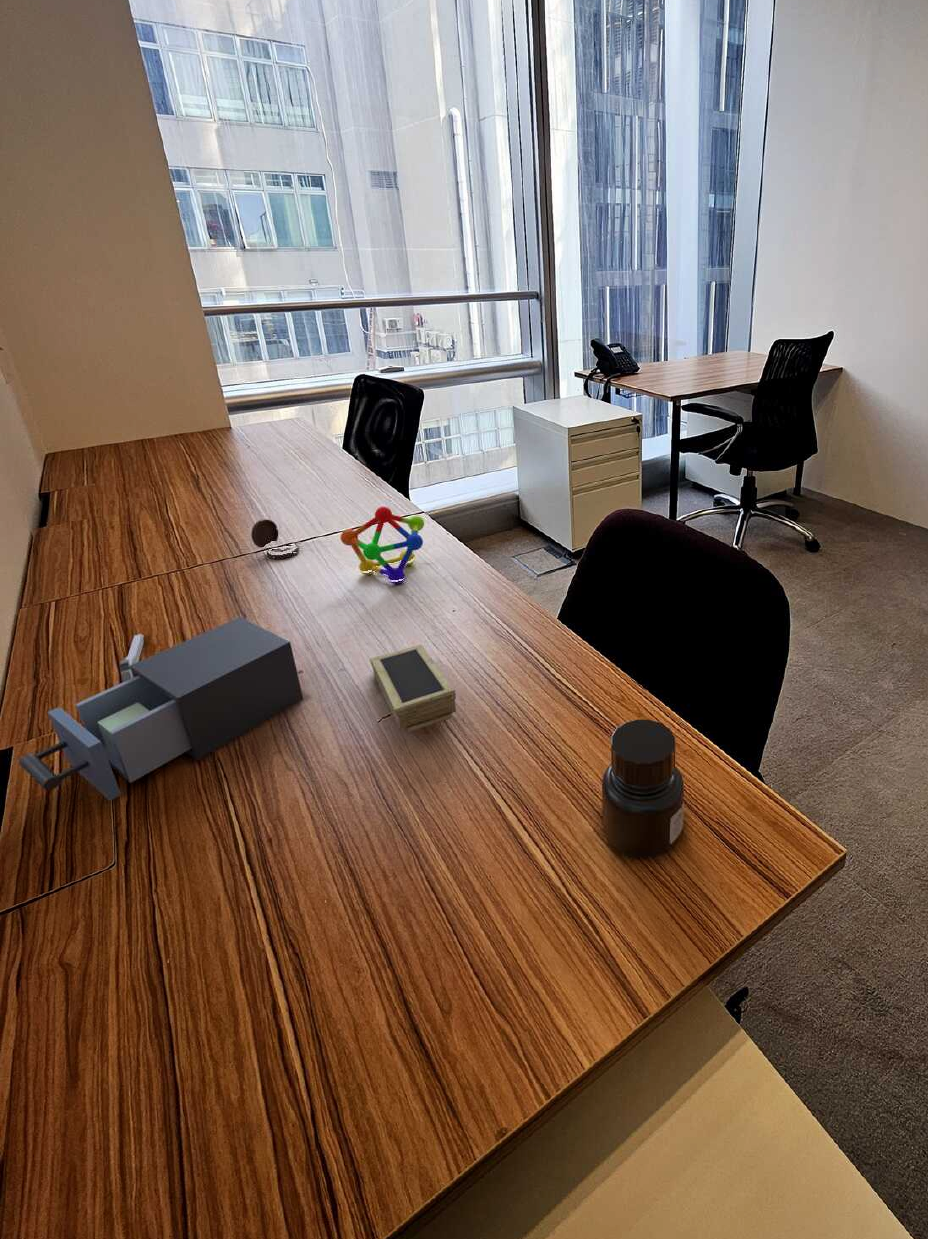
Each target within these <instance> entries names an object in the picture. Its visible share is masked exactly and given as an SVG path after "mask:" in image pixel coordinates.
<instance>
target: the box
mask: <svg viewBox="0 0 928 1239" xmlns="http://www.w3.org/2000/svg"><path fill="white" fill-rule="evenodd" d="M369 661H370V665H371V667H372V672H373V675H374V679H375V681H376V683H377V685H378V687H379V689H380V691H381V693H382V696H383V697H384V700H385V702H386V703H387V706H388V708H389V710H390V712H391V714H392V716H393V719H394V720H395V723H396V725H397V726H398V728H399V730H405V731H406V734H411V733H414V732H417V731H419V730H422V729H425V728H428V727H431V726H434V725H436V724H440V723H442V722H446V721H448V720H451V719H453V715H452V714H453V713H455V712H457V709H456V708H457V706H456V699H457V694H456V689H454V687H453V685H452V684H451V683H450V682H449V680H448V679H447V677H446V676H445V675H444V674H443V672H442V671H441V669H440V668H439V667H438V666H437V664H436V662H435V661H434V660H433V658H432V657H431V655H430V654H429V653H428V652H427V650H426V649H425V647H424V646H423V644H419V645H414V646H410V647H407V648H404V649H401V650H397V651H393V652H390V653H385V654H381V655H378V656H375V657H371V658H370V659H369Z"/></svg>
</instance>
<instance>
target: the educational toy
mask: <svg viewBox="0 0 928 1239" xmlns="http://www.w3.org/2000/svg"><path fill="white" fill-rule="evenodd" d="M398 522H399V523H403V524H406V525H407V527H408V528H409V529H410V530H411V531H410V533H409V532H408V531H407V530H406V529H405V528H403V526H401V525H400V524H399V523H398ZM386 523H388V524H389V526H391V527H392V528H393V529H395V531H397V532H398V533H399V534H400V535H402V537H403V538H404V539H405V541H400V542H397V543H391V544H387V545H383V546H380V545H379V541H380V539H381V538H380V537H381V534H382V531H383V528H384V525H385V524H386ZM375 524H377V525H376V528H375V532H374V534H373V537H372V541H371V542H370V543H367V544H366V543H365V542H363V541H361V540H360V539H359V535H361V534H362V533H364V532H365V531H366V530H368V529H369V528H371V527H372V526H374V525H375ZM424 527H425V521H424V519H423V517H421V516H419V515H412V516H411V517H410V518H407V517H403V516H400V515H396V514H393V513H392V510H391V509H390V508H389V507H387V506H380V507H378V508H377V509H376V510H375V512H374V517H373V518H372V519H370V520H369V521H366V523H364V524H362V525H361V526H360V527H358V528H356V529H355V530H354V529H351V528H348V529H345V530H343V531H342V532H341V535H340V541H341V543H342V544H344V545H345V546H350V547H351V548H352V549H353V551H354V553H355V555H356V556H357V558H358V560H359V561H360V563H359V565H358V569H360V570H361V571H368V570H372V572H369V573H362V572H361V571H360V570H359V571H360V573H361V574H363V575H365V576H369V575H372V574H374V573H376V572H378V573H377V574H379V573H381V574H380V575H383V574H386V575H388V576H387V579H388V580H389V579H390V580H399V579H403V578H404V576H405V577H406V574H405V571H404V569H405V568H406V566H411V565H413V564H414V563H415V561H416V559H415V560H414V561H413V562H411V563H407V562H408V561H410V560H411V559H413V558H414V557H415V558H416V555H415V553H414V551H418V550H420V549H421V548H422V546H423V544H424V540H423V538H422V536H421V535H419V531H421V530H423V528H424ZM402 548H406V550H403V551H402V552H400V554H399V556H398V557H394V558H389V559H385V558H384V557H382V556H381V554H382V553H385V552H390V551H394V550H398V549H402ZM361 549H362V550H361ZM374 560H376V562H375V561H374ZM400 560H401V562H399V563H398V566H397V567H393V566H391V564H390V565H389V564H388V563H394V562H397V561H400ZM406 563H407V564H406ZM394 564H395V563H394ZM380 565H382V566H381V567H383V568H381V567H376V566H380ZM405 565H406V566H405ZM404 567H405V568H404ZM373 571H375V572H373ZM386 575H385V576H386ZM404 580H405V578H404V579H403V580H402V581H398V582H391V581H389V582H390V583H391V584H394V585H399V584H401V583H403V582H404Z"/></svg>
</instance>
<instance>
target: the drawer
mask: <svg viewBox="0 0 928 1239" xmlns="http://www.w3.org/2000/svg"><path fill="white" fill-rule="evenodd" d="M137 702H138V703H140V704H141V705H142V706H144V707H145V708H146V709H148V710H149V712H147V713H145V714H143V715H141V716H139V717H137V718H135V719H133V720H131V721H129V722H127V723H125V724H123V725H121V726H119V727H117V728H115V729H113V730H111V731H110V732H109V733H110V735H111V738H112V741H113V743H114V746H115V748H116V751H117V754H118V756H119V759H120V760H119V759H117V758H116V757H115V756H114V755H113V754H111V753H110V752H109V751H108V749H107V747H106V744H105V741H104V739H103V736H102V734H101V731H100V728H99V726H98V723H97V722H98V721H100V720H102V719H104V718H106V717H108V716H111V715H113V714H115V713H117V712H119V711H121V710H123V709H125V708H127V707H129V706H131V705H133V704H135V703H137ZM75 707H76V710H77V713H78V715H79V717H80V720H81V723H82V725H81V724H80V723H79V722H78V721H77V720H75V719H74V718H73V717H72V716H71V715H69V714H68V713H67V712H66V711H65V710H64V709H62V707H60V706H57V707H55V708H53V709H52V710H49V711H47V715H48V718H49V720H50V722H51V725H52V727H53V729H54V732H55V734H56V738H57V740H58V741H59V742H58V743H56V744H54V745H52V746H50V747H48V748H46V749H44V750H41V751H39V752H37V753H33V752H31V753H26V754H24V755H22V756H21V758H20V759H19V765H20V766H21V767H22V768H23V769H24V771H26V772H27V773H28V774H29V775H30V776H31V777H32V778H33V779H34V780H35V781H36V782H37V783H38V784H39V785H40V786H41V788H43V789H44V790H45V791H53V790H55V789H56V788H58V787H59V786H60V784H61V781H64V780H65V779H67V778H69V777H71V776H72V775H74V774H76V773H79V775H81V776H82V777H83V778H84V779H85V780H86V781H87V782H88V783H89V784H90V785H91V786H93V787H94V789H96V790H97V791H98V792H99V793H100V794H101V795H102V796H103V797H104V798H106V800H108V801H109V802H111V801H113V800H114V799H116V798H118V797H119V796H121V795H122V793H121V790H120V788H119V785H118V783H117V780H116V777H115V775H114V773H113V772H114V771H113V770H115V771H116V772H117V773H118V774H119V775H121V776H122V778H124V779H125V780H126V781H128V782H129V783H130V784H131V783H133V782H135V781H137V780H138V779H141V778H142V777H144V776H146V775H147V774H149V773H150V772H152V771H154V770H156V769H157V768H160V767H161V766H164V765H165V764H166V763H168V762H171V761H172V760H174V759H175V758H178V757H179V756H181V755H182V754H184V753H187V752H186V751H188V750H189V749H191V746H190V743H189V739H188V736H187V733H186V730H185V727H184V724H183V721H182V718H181V715H180V711H179V708H178V705H177V702H176V701H175V700H173V699H172V698H170V697H169V696H168V695H166V694H165V693H163V692H162V691H160V690H159V689H157V688H156V687H154V686H153V685H151V684H150V683H148V682H147V681H145V680H144V679H142V678H141V677H140V676H136V677H134V678H131V679H129V680H127V681H125V682H123V681H122V682H120V683H118V684H115V685H114V686H111V687H109V688H107V689H106V690H103V691H100V692H99V693H96V694H94V695H92V696H90V697H88V698H86V699H84V700H81V701H80V702H77V703H75ZM60 750H62V751H63V754H64V756H65V758H66V759H65V760H66V761H67V763H68V764H69V765H70V766H71V767H69V768H67V769H65V770H63V771H61V772H60V773H58V774H56V773H55V772H54V771H53V770H52V769H50V767H48V765H47V764H46V763H45V762H44V761H42V760H43V759H44V758H47V757H48V756H50V755H52V754H54V753H56V752H59V751H60ZM112 768H113V770H112Z"/></svg>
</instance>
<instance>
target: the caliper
mask: <svg viewBox="0 0 928 1239" xmlns="http://www.w3.org/2000/svg"><path fill="white" fill-rule="evenodd" d="M144 637H145V636H144V635H143V634H142V633H139V634H136V635H134V636H133V638H132V641H131V645H130V648H129V651H128V654H127V656H126V657H125V659H123V660H120V663H118V665H119V668H120V676H121V680H122V683H123V682H125V681H127V680H129V679H131V678H133V675H132V672H131V669H130V665H133V664H135V663H137V662H139V661H140V658H141V654H142V650H143V647H144V644H145V641H144Z"/></svg>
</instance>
